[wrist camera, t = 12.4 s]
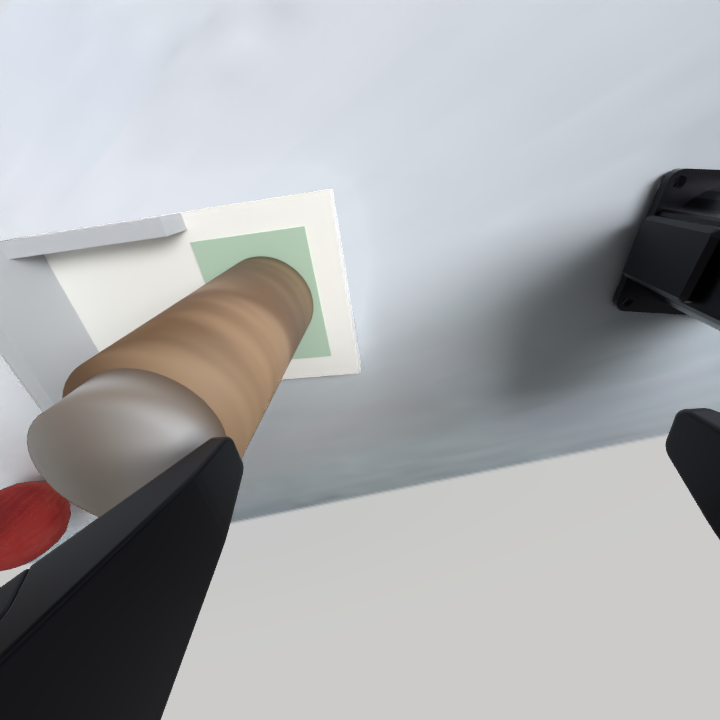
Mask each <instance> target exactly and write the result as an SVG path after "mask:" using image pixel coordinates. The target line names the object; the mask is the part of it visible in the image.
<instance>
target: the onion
mask: <svg viewBox="0 0 720 720" xmlns="http://www.w3.org/2000/svg"><path fill="white" fill-rule="evenodd" d="M70 515H71V511H70V504H69V501H68V500H67V499H66V498H64V497H63V496H62V495H61V494H59V493H58V492H57V491H56V490H55V489H54V488H53V487H52V486H51V485H49V484H48V483H47V481H31V482H24V483H18V484H15V485H12V486H9V487H7V488H4V489H2V490H0V571H3V570H8V569H12V568H16V567H19V566H22V565H24V564H27V563H29V562H31V561H33V560H34V559H36V558H37V557H39V556H40V555H42V554H43V553H45V552H46V551H47V550H49V549H50V548H51V547H52V546H53V545H54V544H56V543H57V542H58V541H59V540H60V538H61V537H62V535H63V534H64V533H65V531H66V529H67V526H68V523H69V519H70Z"/></svg>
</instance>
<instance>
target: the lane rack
mask: <svg viewBox="0 0 720 720" xmlns="http://www.w3.org/2000/svg"><path fill="white" fill-rule="evenodd" d="M256 256H265V257H272V258H276V259H278V260H281V261H283V262H285V263H287V264H288V265H290V266H291V267H293V268H294V269H295V270H296V271H297V272H298V273H299V274H300V275H301V276H302V277H303V278H304V280H305V281H306V283H307V285H308V287H309V289H310V291H311V294H312V298H313V316H312V319H311V322H310V324H309V326H308V328H307V330H306V332H305V334H304V336H303V338H302V340H301V342H300V344H299V346H298V348H297V350H296V352H295V354H294V356H293V358H292V360H291V362H290V364H289V365H288V367H287V369H286V371H285V373H284V375H283V377H282V379H281V380H283V379H296V378H308V377H321V376H333V375H346V374H358V373H360V370H361V360H360V354H359V348H358V342H357V336H356V329H355V323H354V317H353V311H352V305H351V298H350V292H349V286H348V280H347V274H346V267H345V261H344V255H343V249H342V242H341V236H340V230H339V224H338V218H337V211H336V205H335V199H334V193H333V188H331V189H325V190H318V191H312V192H306V193H299V194H293V195H286V196H280V197H274V198H267V199H261V200H254V201H248V202H242V203H235V204H229V205H222V206H216V207H210V208H203V209H197V210H190V211H184V212H177V213H171V214H165V215H158V216H152V217H145V218H139V219H133V220H126V221H120V222H113V223H107V224H101V225H94V226H88V227H81V228H75V229H69V230H62V231H56V232H49V233H43V234H37V235H31V236H26V237H21V238H15V239H10V240H5V241H0V354H1V356H2V357H3V358H4V360H5V361H6V363H7V364H8V365H9V367H10V368H11V369H12V371H13V372H14V374H15V375H16V376H17V378H18V379H19V380H20V382H21V383H22V385H23V386H24V387H25V389H26V390H27V391H28V393H29V394H30V396H31V397H32V398H33V400H34V401H35V402H36V404H37V405H38V406H39V408H40V409H41V411H42V412H44V411H46V410H47V409H49V408H50V407H51V406H53V405H54V404H56V403H57V402H58V401H60V400H61V399H62V395H63V389H64V385H65V382H66V380H67V379H68V377H69V375H70V374H71V373H72V372H73V371H74V370H75V369H76V368H77V367H78V366H80V365H81V364H82V363H84V362H85V361H87V360H88V359H90V358H92V357H93V356H95V355H96V354H98V353H99V352H101V351H102V350H104V349H106V348H107V347H109V346H110V345H112V344H113V343H115V342H116V341H118V340H119V339H121V338H123V337H124V336H126V335H127V334H129V333H130V332H132V331H133V330H135V329H136V328H138V327H140V326H141V325H143V324H144V323H146V322H147V321H149V320H150V319H152V318H154V317H155V316H157V315H158V314H160V313H161V312H163V311H164V310H166V309H167V308H169V307H171V306H172V305H174V304H175V303H177V302H178V301H180V300H181V299H183V298H185V297H186V296H188V295H189V294H191V293H192V292H194V291H195V290H197V289H198V288H200V287H202V286H203V285H205V284H206V283H208V282H209V281H211V280H212V279H214V278H215V277H217V276H219V275H220V274H222V273H223V272H225V271H226V270H228V269H229V268H231V267H233V266H234V265H236V264H237V263H239V262H240V261H242V260H244V259H247V258H250V257H256Z"/></svg>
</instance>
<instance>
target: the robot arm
mask: <svg viewBox="0 0 720 720" xmlns="http://www.w3.org/2000/svg"><path fill="white" fill-rule="evenodd" d="M678 176H679V177H680V182H679V183H678V185H676V186H675V187H674V186H673V183H674V180H675V179H676V178H677V177H678ZM627 297H628V300H627V302H625V303H623V304H622V301H623V300H624V299H625V298H627ZM612 303H613V305H614V306H615V307H616V308H617V309H619V310H622V311H632V312H650V313H667V314H684V315H690V316H692V317H694V318H696V319H698V320H700V321H701V322H703V323H705V324H707V325H709V326H711V327H713V328H715V329H717V330H719V331H720V170H706V169H674V170H672V171H670V172H669V173H667V174H666V175H665V176H664V178H663V180H662V182H661V184H660V186H659V189H658V191H657V194H656V196H655V199H654V201H653V203H652V206H651V208H650V211H649V213H648V215H647V218H646V219H645V220H644V221H643V223H642V226H641V228H640V231H639V233H638V235H637V238H636V240H635V243H634V245H633V248H632V250H631V252H630V255H629V257H628V260H627V262H626V265H625V267H624V269H623V276H622V278H621V281H620V283H619V286H618V288H617V290H616V293H615V295H614V298H613V302H612ZM666 451H667V453H668V456H669V458H670V459H671V461H672V463H673V464H674V466H675V467H676V469H677V471H678V473H679V474H680V476H681V478H682V479H683V481H684V483H685V484H686V486H687V488H688V489H689V491H690V493H691V495H692V496H693V498H694V500H695V501H696V503H697V505H698V506H699V508H700V509H701V511H702V513H703V515H704V516H705V518H706V520H707V521H708V523H709V524H710V526H711V527H712V529H713V531H714V532H715V534H716V535H717V536H718V538H719V539H720V412H717V411H714V410H711V409H707V408H697V409H684V410H681V411H679V412H678V413H677V414H676V416H675V418H674V421H673V424H672V426H671V429H670V432H669V435H668V437H667V440H666ZM242 475H243V463H242V460H241V457H240V455H239V453H238V450H237V448H236V446H235V443H234V441H233V439H232V438H230V437H228V436H225V437H213V438H210V439H209V440H207V441H206V442H205V443H203V444H202V445H200V446H199V447H198V448H196V449H195V450H193V451H192V452H191V453H189V454H188V455H186V456H185V457H184V458H182V459H181V460H179V461H178V462H176V463H175V464H174V465H172V466H171V467H169V468H168V469H167V470H165V471H164V472H162V473H161V474H160V475H158V476H157V477H155V478H154V479H153V480H151V481H150V482H148V483H147V484H146V485H144V486H143V487H141V488H140V489H138V490H137V491H136V492H134V493H133V494H131V495H130V496H129V497H127V498H126V499H124V500H123V501H122V502H120V503H119V504H117V505H116V506H115V507H113V508H112V509H110V510H109V511H107V512H106V513H105V514H103V515H102V516H100V517H99V518H98V519H96V520H95V521H93V522H92V523H91V524H89V525H88V526H86V527H85V528H84V529H82V530H81V531H79V532H78V533H76V534H75V535H74V536H72V537H71V538H69V539H68V540H67V541H65V542H64V543H62V544H61V545H60V546H58V547H57V548H55V549H54V550H53V551H51V552H50V553H48V554H47V555H45V556H44V557H43V558H41V559H40V560H38V561H37V562H36V563H34V564H33V565H32V566H31V567H30V569H26V570H24V571H23V572H21V573H20V574H19V575H17V576H16V577H14V578H13V579H12V580H10V581H9V582H7V583H6V584H5V585H3V586H2V587H0V720H161V717H162V715H163V712H164V709H165V706H166V704H167V701H168V698H169V695H170V692H171V690H172V687H173V684H174V681H175V679H176V676H177V673H178V671H179V668H180V665H181V662H182V659H183V657H184V654H185V651H186V648H187V646H188V643H189V640H190V637H191V635H192V632H193V629H194V626H195V624H196V621H197V618H198V615H199V612H200V610H201V607H202V604H203V602H204V599H205V596H206V593H207V590H208V588H209V585H210V582H211V580H212V577H213V574H214V571H215V568H216V566H217V563H218V560H219V557H220V554H221V552H222V549H223V546H224V543H225V540H226V537H227V533H228V530H229V526H230V522H231V518H232V514H233V510H234V506H235V502H236V499H237V495H238V491H239V487H240V483H241V479H242Z"/></svg>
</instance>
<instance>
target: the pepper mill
mask: <svg viewBox="0 0 720 720" xmlns="http://www.w3.org/2000/svg"><path fill="white" fill-rule="evenodd" d="M312 316H313V298H312V294H311V291H310V289H309V287H308V285H307V283H306V281H305V280H304V278H303V277H302V276H301V275H300V274H299V273H298V272H297V271H296V270H295V269H294V268H293V267H291V266H290V265H288V264H287V263H285V262H283V261H281V260H278V259H276V258H272V257H265V256H256V257H250V258H247V259H244V260H242V261H240V262H239V263H237V264H236V265H234V266H233V267H231V268H229V269H228V270H226V271H225V272H223V273H222V274H220V275H219V276H217V277H215V278H214V279H212V280H211V281H209V282H208V283H206V284H205V285H203V286H202V287H200V288H198V289H197V290H195V291H194V292H192V293H191V294H189V295H188V296H186V297H185V298H183V299H181V300H180V301H178V302H177V303H175V304H174V305H172V306H171V307H169V308H167V309H166V310H164V311H163V312H161V313H160V314H158V315H157V316H155V317H154V318H152V319H150V320H149V321H147V322H146V323H144V324H143V325H141V326H140V327H138V328H136V329H135V330H133V331H132V332H130V333H129V334H127V335H126V336H124V337H123V338H121V339H119V340H118V341H116V342H115V343H113V344H112V345H110V346H109V347H107V348H106V349H104V350H102V351H101V352H99V353H98V354H96V355H95V356H93V357H92V358H90V359H88V360H87V361H85V362H84V363H82V364H81V365H80V366H78V367H77V368H76V369H75V370H74V371H73V372H72V373H71V374H70V375H69V377H68V379H67V380H66V382H65V385H64V389H63V395H62V399H61V400H60V401H58V402H57V403H56V404H54V405H53V406H51V407H50V408H49V409H47V410H46V411H44V412H43V413H42V414H40V415H39V416H38V417H37V418H36V419H35V420H34V421H33V422H32V424H31V426H30V428H29V431H28V434H27V446H28V451H29V454H30V457H31V459H32V461H33V463H34V465H35V467H36V468H37V470H38V471H39V473H40V474H41V476H42V477H43V478H44V479H45V480H46V481H47V483H48V484H49V485H51V486H52V487H53V488H54V489H55V490H56V491H57V492H58V493H59V494H61V495H62V496H63V497H64V498H66V499H67V500H69V501H70V502H72V503H73V504H75V505H76V506H78V507H80V508H81V509H83V510H85V511H87V512H89V513H91V514H93V515H96V516H98V517H100V516H102V515H103V514H105V513H106V512H107V511H109V510H110V509H112V508H113V507H115V506H116V505H117V504H119V503H120V502H122V501H123V500H124V499H126V498H127V497H129V496H130V495H131V494H133V493H134V492H136V491H137V490H138V489H140V488H141V487H143V486H144V485H146V484H147V483H148V482H150V481H151V480H153V479H154V478H155V477H157V476H158V475H160V474H161V473H162V472H164V471H165V470H167V469H168V468H169V467H171V466H172V465H174V464H175V463H176V462H178V461H179V460H181V459H182V458H184V457H185V456H186V455H188V454H189V453H191V452H192V451H193V450H195V449H196V448H198V447H199V446H200V445H202V444H203V443H205V442H206V441H207V440H209V439H210V438H213V437H225V436H228V437H230V438H232V439H233V441H234V443H235V446H236V448H237V450H238V453H239V455H240V457H241V459H242V457H243V455H244V453H245V451H246V449H247V447H248V445H249V443H250V441H251V439H252V437H253V435H254V433H255V431H256V429H257V427H258V425H259V423H260V421H261V419H262V417H263V415H264V413H265V411H266V409H267V407H268V405H269V403H270V401H271V399H272V397H273V395H274V393H275V391H276V389H277V387H278V385H279V383H280V381H281V379H282V377H283V375H284V373H285V371H286V369H287V367H288V365H289V364H290V362H291V360H292V358H293V356H294V354H295V352H296V350H297V348H298V346H299V344H300V342H301V340H302V338H303V336H304V334H305V332H306V330H307V328H308V326H309V324H310V322H311V319H312Z"/></svg>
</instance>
